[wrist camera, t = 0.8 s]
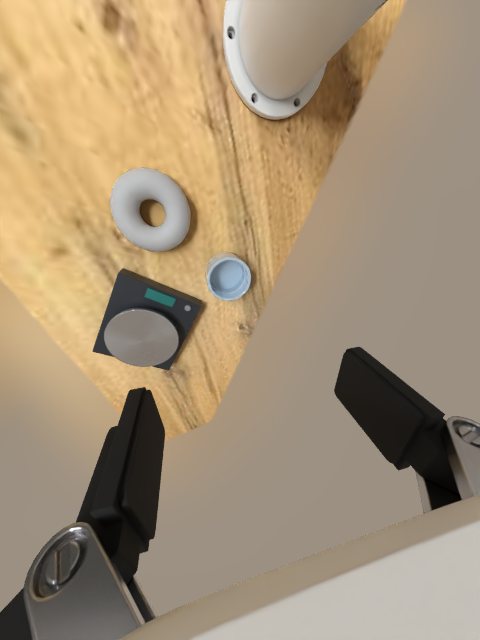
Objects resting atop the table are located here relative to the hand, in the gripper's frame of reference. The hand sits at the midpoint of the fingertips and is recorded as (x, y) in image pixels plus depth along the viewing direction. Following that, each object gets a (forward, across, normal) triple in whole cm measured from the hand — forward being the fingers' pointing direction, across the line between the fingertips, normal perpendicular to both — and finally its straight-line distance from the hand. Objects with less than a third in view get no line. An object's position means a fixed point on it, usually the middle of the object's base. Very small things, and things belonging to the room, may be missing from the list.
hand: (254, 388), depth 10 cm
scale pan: (+24, +12, +11) cm, 29 cm away
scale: (+28, +11, +10) cm, 32 cm away
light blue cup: (+28, -3, +2) cm, 28 cm away
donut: (+28, +6, -7) cm, 30 cm away
